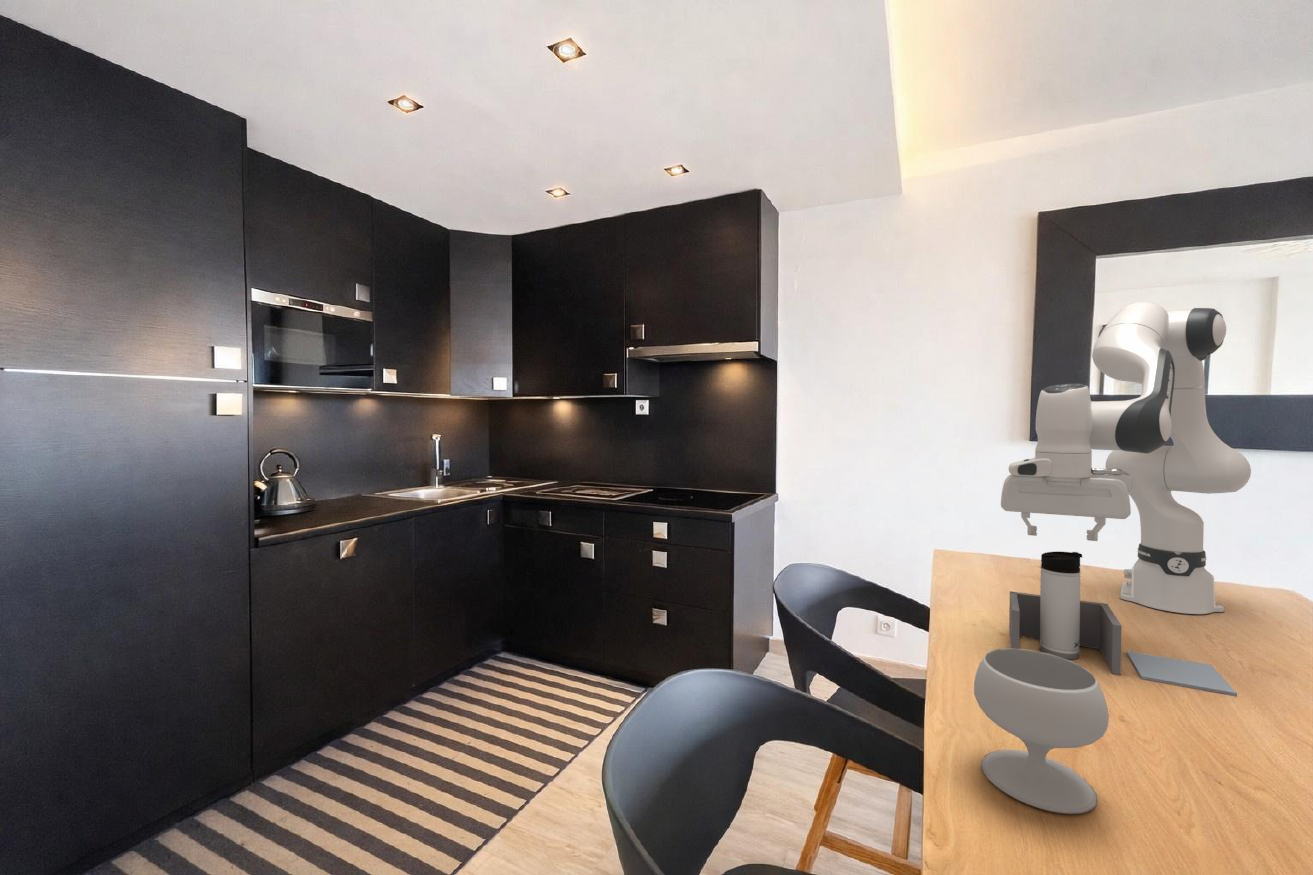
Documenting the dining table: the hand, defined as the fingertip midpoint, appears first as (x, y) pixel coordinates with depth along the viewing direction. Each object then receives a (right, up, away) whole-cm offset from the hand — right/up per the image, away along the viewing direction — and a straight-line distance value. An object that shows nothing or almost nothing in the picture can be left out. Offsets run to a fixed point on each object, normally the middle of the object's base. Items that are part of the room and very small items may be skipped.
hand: (1061, 537), depth 106 cm
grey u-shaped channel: (0, -23, +1) cm, 23 cm away
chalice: (-31, -25, -37) cm, 54 cm away
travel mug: (0, -23, +1) cm, 23 cm away
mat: (+15, -23, -8) cm, 29 cm away
